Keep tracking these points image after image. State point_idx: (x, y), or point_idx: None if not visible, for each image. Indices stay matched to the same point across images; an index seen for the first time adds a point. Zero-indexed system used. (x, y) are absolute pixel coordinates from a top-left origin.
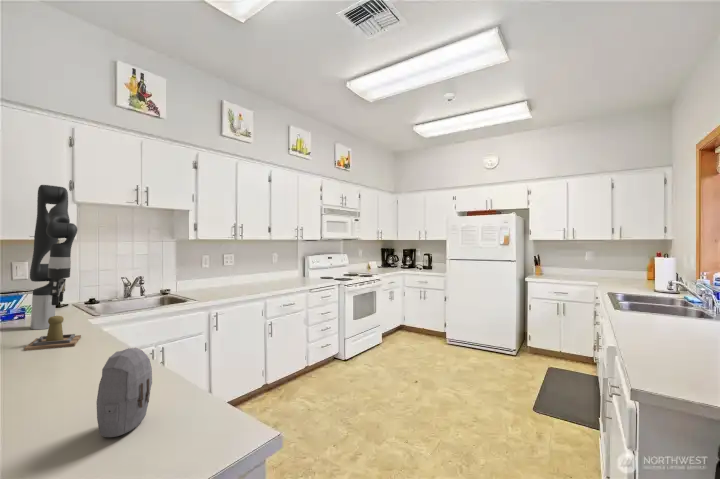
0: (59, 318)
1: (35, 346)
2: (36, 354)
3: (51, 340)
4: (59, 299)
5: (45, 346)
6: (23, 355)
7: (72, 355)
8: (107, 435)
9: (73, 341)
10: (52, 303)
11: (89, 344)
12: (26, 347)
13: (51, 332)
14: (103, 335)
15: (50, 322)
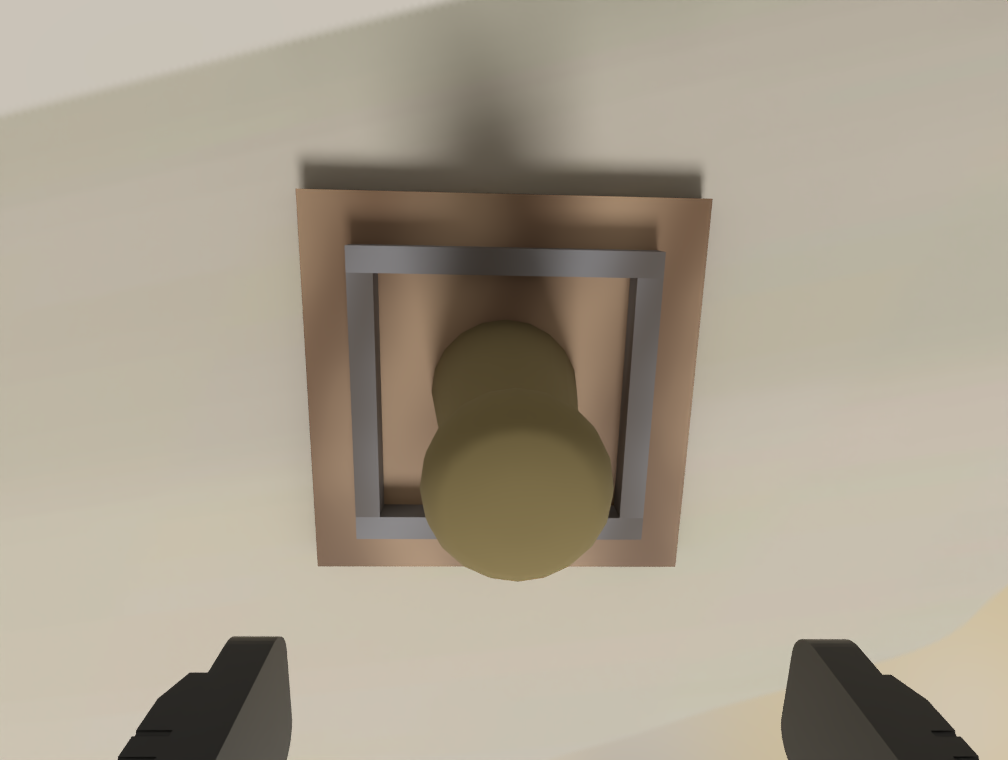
0: (448, 550)
1: (321, 272)
2: (125, 319)
3: (434, 383)
4: (825, 740)
5: (305, 354)
6: (120, 222)
7: (8, 583)
8: None
9: (412, 546)
10: (173, 686)
11: (357, 646)
12: (304, 200)
13: (441, 402)
14: (673, 704)
15: (439, 427)
